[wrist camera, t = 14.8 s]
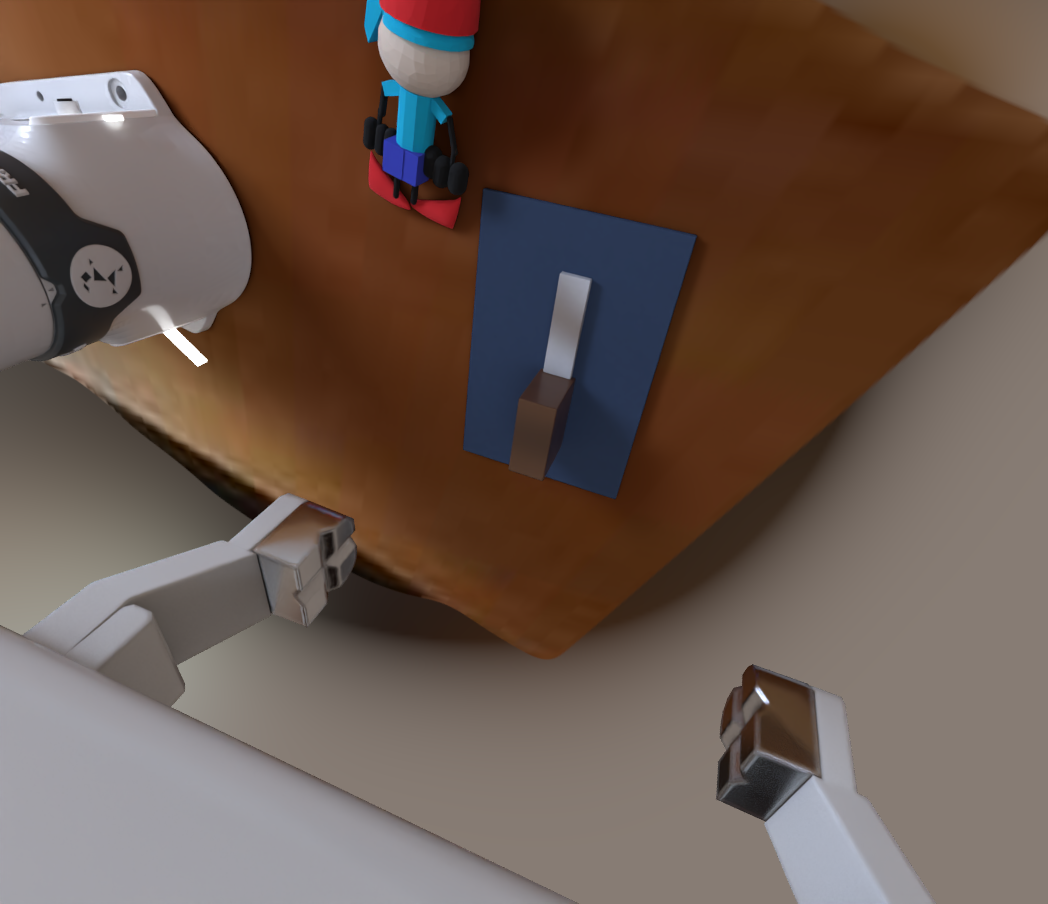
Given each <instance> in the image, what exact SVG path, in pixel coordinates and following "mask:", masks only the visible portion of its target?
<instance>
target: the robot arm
mask: <svg viewBox="0 0 1048 904" xmlns="http://www.w3.org/2000/svg"><path fill="white" fill-rule="evenodd" d="M250 271H251V244H250V237H249V232H248V228H247V224H246V221H245V217H244V214H243V211H242V209H241V206H240V204H239V201H238V199H237V197H236V195H235V193H234V191H233V189H232V187H231V185H230V183H229V181H228V180H227V178H226V176H225V175H224V173H223V172H222V170H221V169H220V167H219V166H218V164H217V163H216V161H215V160H214V159H213V158H212V156H211V155H210V154H209V153H208V151H207V150H206V149H205V148H204V147H203V146H202V145H201V144H200V143H199V141H198V140H197V139H195V138H194V137H193V136H192V135H191V134H190V133H189V132H188V131H187V130H186V129H185V128H184V127H183V126H182V125H181V124H180V123H179V121H178V120H177V119H176V118H175V117H174V115H173V114H172V112H171V110H170V109H169V107H168V105H167V104H166V102H165V100H164V99H163V97H162V96H161V94H160V92H159V91H158V89H157V88H156V86H155V85H154V84H153V82H152V81H151V80H150V79H149V78H148V77H147V76H146V75H145V74H144V73H143V72H141V71H138V70H128V71H118V72H107V73H97V74H87V75H76V76H66V77H56V78H45V79H35V80H25V81H15V82H7V83H1V84H0V371H3V370H5V369H8V368H10V367H13V366H15V365H17V364H20V363H22V362H25V361H27V360H31V361H46V360H49V359H52V358H55V357H57V356H65V355H68V354H71V353H74V352H76V351H79V350H81V349H82V348H83V347H85V346H87V345H89V344H92V343H94V342H97V341H101V342H104V343H108V344H110V345H111V346H124V345H127V344H130V343H133V342H136V341H139V340H142V339H145V338H148V337H151V336H154V335H157V334H160V333H164V334H165V335H166V336H167V337H168V338H169V339H170V340H171V341H172V342H173V343H174V344H175V345H176V346H177V347H178V348H179V349H180V350H181V351H182V352H183V353H184V354H185V355H186V356H187V357H188V358H189V359H190V360H191V361H192V362H194V363H195V364H196V365H197V366H200V365H202V364H204V363H206V362H207V359H206V358H205V357H204V356H203V355H202V354H201V353H200V352H199V351H198V350H197V349H196V348H195V347H194V346H193V345H192V344H191V343H190V342H189V341H188V340H187V339H186V338H184V337H183V336H182V335H181V334H180V333H179V332H178V331H177V330H176V329H175V328H178V327H182V328H184V329H186V330H188V331H190V332H192V333H199V332H203V331H206V330H208V329H209V328H210V327H211V325H212V323H213V321H214V319H215V317H216V314H217V312H218V311H219V310H220V309H222V308H224V307H225V306H227V305H229V304H231V303H233V302H234V301H235V300H236V299H237V298H238V297H239V296H240V295H241V294H242V292H243V291H244V289H245V287H246V285H247V282H248V279H249V276H250ZM354 531H355V525H354V519H353V518H351V517H348V516H346V515H343V514H341V513H338V512H336V511H333V510H331V509H328V508H326V507H323V506H321V505H318V504H316V503H314V502H311V501H308V500H306V499H303V498H301V497H298V496H295V495H293V494H290V493H288V494H285V495H282V496H280V497H279V498H278V499H277V500H276V501H274V502H273V503H272V504H271V505H270V506H269V507H268V508H266V509H265V510H264V511H263V512H262V513H261V514H260V515H259V516H257V517H256V518H255V519H254V520H253V521H252V522H251V523H249V524H248V525H247V526H246V527H245V528H244V529H243V530H242V531H240V532H239V533H238V534H237V535H236V536H235V537H233V538H232V539H231V540H230V541H229V542H226V541H223V540H221V541H218V542H215V543H211V544H209V545H205V546H202V547H199V548H196V549H193V550H190V551H187V552H184V553H181V554H178V555H175V556H171V557H168V558H165V559H162V560H159V561H156V562H153V563H150V564H147V565H144V566H141V567H138V568H135V569H131V570H128V571H126V572H122V573H119V574H116V575H113V576H110V577H107V578H104V579H101V580H98V581H95V582H92V583H90V584H89V585H88V586H86V587H85V588H84V589H82V590H81V591H80V592H78V593H77V594H76V595H74V596H73V597H72V598H70V599H69V600H68V601H67V602H65V603H64V604H63V605H61V606H60V607H59V608H57V609H56V610H55V611H53V612H52V613H51V614H50V615H48V616H47V617H46V618H44V619H43V620H42V621H40V622H39V623H38V624H37V625H35V626H34V627H32V628H31V629H30V630H28V631H27V632H26V633H24V635H20V634H18V633H16V632H13V631H12V630H9V629H7V628H5V627H3V626H1V625H0V904H579V903H577V902H575V901H573V900H570V899H568V898H566V897H564V896H562V895H560V894H558V893H556V892H554V891H551V890H550V889H548V888H546V887H543V886H541V885H539V884H537V883H535V882H533V881H531V880H529V879H527V878H525V877H523V876H521V875H519V874H516V873H514V872H512V871H510V870H508V869H506V868H504V867H502V866H500V865H498V864H495V863H494V862H492V861H489V860H487V859H485V858H483V857H481V856H479V855H477V854H475V853H472V852H471V851H469V850H466V849H464V848H462V847H460V846H458V845H456V844H454V843H452V842H450V841H448V840H446V839H444V838H442V837H440V836H438V835H435V834H433V833H431V832H429V831H427V830H425V829H423V828H421V827H419V826H417V825H415V824H413V823H411V822H408V821H406V820H404V819H402V818H400V817H398V816H396V815H394V814H392V813H390V812H388V811H386V810H383V809H381V808H379V807H377V806H375V805H373V804H371V803H369V802H367V801H365V800H363V799H361V798H359V797H356V796H354V795H352V794H350V793H348V792H346V791H344V790H342V789H340V788H338V787H336V786H334V785H331V784H330V783H327V782H325V781H323V780H321V779H319V778H317V777H315V776H313V775H311V774H308V773H307V772H305V771H303V770H300V769H298V768H296V767H294V766H292V765H290V764H288V763H286V762H284V761H282V760H280V759H278V758H275V757H273V756H271V755H269V754H267V753H265V752H263V751H261V750H259V749H257V748H255V747H253V746H251V745H248V744H246V743H244V742H242V741H240V740H238V739H236V738H234V737H232V736H230V735H228V734H226V733H224V732H221V731H219V730H217V729H215V728H213V727H211V726H209V725H207V724H205V723H203V722H201V721H199V720H196V719H194V718H192V717H190V716H188V715H186V714H184V713H182V712H180V711H178V710H176V709H174V708H171V706H172V705H173V704H174V703H175V702H176V701H177V699H178V698H179V697H180V696H181V695H182V694H183V693H184V692H185V683H184V680H183V678H182V676H181V674H180V672H179V670H178V667H177V665H178V664H180V663H182V662H184V661H186V660H187V659H189V658H191V657H193V656H195V655H197V654H199V653H201V652H203V651H205V650H207V649H208V648H210V647H212V646H214V645H216V644H218V643H220V642H222V641H223V640H226V639H227V638H230V637H231V636H233V635H235V634H237V633H239V632H241V631H243V630H245V629H247V628H249V627H251V626H252V625H254V624H256V623H258V622H260V621H262V620H264V619H266V618H268V617H270V616H271V613H272V614H275V615H277V616H280V617H282V618H285V619H288V620H290V621H293V622H295V623H298V624H301V625H303V626H306V627H308V626H309V625H310V623H311V622H312V621H313V620H314V619H315V617H316V616H317V615H318V614H319V612H320V611H321V610H322V609H323V608H324V606H325V605H326V604H327V603H328V591H331V590H334V589H336V588H338V587H341V586H342V584H343V583H344V582H345V580H346V579H347V578H348V577H349V575H350V573H351V571H352V569H353V567H354V565H355V561H356V556H357V545H356V544H355V542H354V541H353V539H352V538H351V537H350V536H351V534H352V533H353V532H354ZM720 739H721V741H722V743H723V745H724V747H725V749H726V752H725V753H724V754H723V756H722V757H721V759H720V760H719V761H718V774H717V794H716V799H717V800H719V801H721V802H723V803H726V804H728V805H730V806H732V807H734V808H737V809H739V810H741V811H743V812H746V813H748V814H750V815H752V816H754V817H757V818H759V819H761V820H764V821H766V823H765V827H766V829H767V831H768V834H769V836H770V838H771V841H772V843H773V846H774V848H775V851H776V853H777V855H778V857H779V860H780V863H781V865H782V867H783V870H784V872H785V875H786V877H787V879H788V882H789V884H790V886H791V889H792V891H793V894H794V896H795V899H796V901H797V903H798V904H936V902H935V901H934V899H933V898H932V897H931V895H930V893H929V892H928V890H927V889H926V887H925V885H924V884H923V883H922V881H921V879H920V878H919V876H918V875H917V873H916V872H915V870H914V869H913V867H912V865H911V864H910V862H909V861H908V859H907V858H906V857H905V855H904V853H903V852H902V850H901V849H900V847H899V846H898V844H897V842H896V841H895V839H894V838H893V836H892V835H891V833H890V832H889V830H888V829H887V827H886V826H885V824H884V823H883V821H882V819H881V818H880V816H879V815H878V813H877V812H876V810H875V809H874V807H873V806H872V804H871V802H870V801H869V799H868V798H867V797H865V796H863V795H860V794H858V792H857V785H856V778H855V770H854V763H853V756H852V749H851V742H850V735H849V728H848V721H847V714H846V706H845V703H844V701H843V699H842V697H840V696H837V695H835V694H832V693H829V692H826V691H823V690H821V689H818V688H815V687H813V686H809V685H808V684H807V683H804V682H801V681H798V680H795V679H792V678H789V677H787V676H784V675H781V674H778V673H775V672H773V671H770V670H767V669H764V668H761V667H759V666H756V665H753V664H752V665H751V666H749V667H748V668H747V669H746V670H745V672H744V674H743V677H742V686H740V687H736V688H733V690H732V692H731V693H730V695H729V697H728V698H727V702H726V704H725V707H724V711H723V714H722V720H721V727H720Z"/></svg>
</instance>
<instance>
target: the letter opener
mask: <svg viewBox="0 0 1048 904" xmlns="http://www.w3.org/2000/svg"><path fill="white" fill-rule="evenodd" d="M591 283H592V279H591V278H587V277H583V276H579V275H575V274H571V273H568V272H564V271H562V272H561V273H560V276H559V282H558V287H557V293H556V299H555V305H554V311H553V316H552V322H551V328H550V334H549V340H548V346H547V351H546V357H545V363H544V369H540V371H539V372H538V373H537V375H536V376H535V377H534V379H533V380H532V381H531V383H530V384H529V386H528V387H527V388H526V390H525V391H524V392H523V394H522V395H521V396H520V398H519V402H518V408H517V415H516V422H515V429H514V436H513V442H512V449H511V456H510V463H509V470H510V471H513V472H516V473H519V474H522V475H526V476H529V477H532V478H535V479H538V480H541V481H543V480H544V478H545V476H546V474H547V472H548V470H549V469H550V467H551V465H552V463H553V461H554V459H555V457H556V455H557V453H558V452H559V450H560V448H561V445H562V441H563V436H564V431H565V427H566V422H567V417H568V413H569V408H570V403H571V399H572V394H573V389H574V385H575V380H576V379H575V378H572V374H573V369H574V364H575V359H576V355H577V350H578V345H579V340H580V336H581V331H582V326H583V321H584V316H585V312H586V307H587V302H588V297H589V293H590V288H591Z"/></svg>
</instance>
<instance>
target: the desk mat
mask: <svg viewBox="0 0 1048 904" xmlns="http://www.w3.org/2000/svg"><path fill="white" fill-rule="evenodd" d="M696 237H697V235H694V234H690V233H685V232H681V231H676V230H672V229H667V228H663V227H658V226H654V225H649V224H645V223H641V222H636V221H632V220H627V219H623V218H618V217H614V216H609V215H605V214H600V213H596V212H591V211H587V210H582V209H578V208H574V207H569V206H565V205H560V204H556V203H551V202H547V201H542V200H538V199H533V198H529V197H524V196H520V195H516V194H511V193H507V192H502V191H498V190H493V189H489V188H484V189H483V198H482V211H481V224H480V237H479V250H478V263H477V276H476V289H475V302H474V315H473V328H472V341H471V354H470V367H469V380H468V393H467V406H466V419H465V432H464V445H463V450H466V451H469V452H472V453H475V454H478V455H481V456H484V457H487V458H490V459H493V460H496V461H499V462H502V463H506V464H509V463H510V456H511V449H512V442H513V436H514V429H515V422H516V415H517V408H518V402H519V398H520V396H521V395H522V394H523V392H524V391H525V390H526V388H527V387H528V386H529V384H530V383H531V381H532V380H533V379H534V377H535V376H536V375H537V373H538V372H539V371H540V369H544V363H545V357H546V351H547V346H548V340H549V334H550V328H551V322H552V316H553V311H554V305H555V299H556V293H557V287H558V282H559V276H560V273H561V272H562V271H564V272H568V273H571V274H575V275H579V276H583V277H587V278H591V279H592V283H591V288H590V293H589V297H588V302H587V307H586V312H585V316H584V321H583V326H582V331H581V336H580V340H579V345H578V350H577V355H576V359H575V364H574V369H573V374H572V378H575V379H576V380H575V385H574V389H573V394H572V399H571V403H570V408H569V413H568V417H567V422H566V427H565V431H564V436H563V441H562V445H561V448H560V450H559V452H558V453H557V455H556V457H555V459H554V461H553V463H552V465H551V467H550V469H549V470H548V472H547V474H546V476H545V477H548V478H551V479H554V480H558V481H561V482H564V483H567V484H570V485H573V486H576V487H579V488H582V489H585V490H588V491H591V492H594V493H597V494H600V495H603V496H607V497H610V498H613V499H616V496H617V493H618V490H619V487H620V483H621V480H622V477H623V474H624V471H625V467H626V464H627V461H628V458H629V454H630V451H631V448H632V445H633V441H634V438H635V435H636V432H637V428H638V425H639V422H640V419H641V415H642V412H643V409H644V406H645V403H646V399H647V396H648V393H649V390H650V386H651V383H652V380H653V377H654V373H655V370H656V367H657V364H658V360H659V357H660V354H661V351H662V348H663V344H664V341H665V338H666V335H667V331H668V328H669V325H670V322H671V318H672V315H673V312H674V309H675V305H676V302H677V299H678V296H679V292H680V289H681V286H682V283H683V280H684V276H685V273H686V270H687V267H688V263H689V260H690V257H691V254H692V250H693V247H694V244H695V241H696Z"/></svg>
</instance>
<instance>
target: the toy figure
mask: <svg viewBox="0 0 1048 904" xmlns="http://www.w3.org/2000/svg"><path fill="white" fill-rule="evenodd" d="M480 4H481V0H367V6H366V15H365V23H364V26H365V31H366V35H367V39H368V43H370V42H375V41H378V47H379V53H380V56H381V58H382V61H383V63H384V65H385V67H386V69H387V71H388V72H389V73H390V75H391V76H392V78H393V79H394V80H387V81H384V82H382V88H381V96H380V105H379V108H378V118H377V120H376V119H375V118H373V117H368V118H367V119H366V120H365V123H364V137H363V143H364V145H365V147H366V148H368V149H371V150H372V149H375V151H376V153H377V154H379V155H381V156H383V167H382V166H381V165H380V164H379V162H378V161H377V160H376V158H375V156H374V154H373V152H372V151H371V153H370V162H369V187H370V188H371V189H372V190H373V191H374V192H375V193H377V194H378V195H380V196H381V197H383V198H384V199H386V200H387V201H389V202H390V203H392V204H394V205H396V206H398V207H401V208H403V209H407V210H410V209H411V208H410V205H411V206H412V207H413V208H414V209H415V210H417V211H418V212H419V213H421V214H422V215H424V216H425V217H427V218H429V219H431V220H433V221H435V222H437V223H439V224H441V225H443V226H446V227H448V228H451V229H452V228H453V227H454V224H455V222H456V219H457V215H458V211H459V207H460V202H461V197H460V198H458V199H455V200H417V196H418V186H419V185H420V184H422V183H424V182H426V181H428V179H429V178H431V179H432V180H433V182H434V184H435V185H436V186H437V187H439V188H445V187H447V186H448V189H449V191H450V192H451V193H452V194H454V195H461V194H463V193H464V192H465V191H466V188H467V182H468V176H469V171H468V168H467V167H466V165H465V164H463V163H460V162H456V163H455V156H457V154H458V151H457V145H456V138H455V131H454V125H453V118H452V117H451V115H452V114H453V113H452V112H451V111H450V110H449V108H448V107H447V106H446V104H445V103H444V102H443V100H442V99H441V98H440V96H444V95H447V94H450V93H451V92H453V91H454V90H455V89H456V88H458V87H459V86H460V85H461V83H462V82H463V80H464V78H465V76H466V74H467V71H468V68H469V58H470V49H472V48H473V46H474V34H475V33H476V32H477V31H478V26H479V16H480ZM388 96H399V106H398V120H397V131H396V130H395V129H394V128H389V127H388V126H387V125H385V124H382V117H384V116H385V115H386V107H387V99H388ZM436 119H437V120H438V121H439V122H440V124H443V123H445V122H447V125H448V131H449V137H450V144H451V150H452V152H451V158H449V157H447V156H445V155H443V154H442V152H441V150H440V149H439V148H438V147H437V146H435V145H433V142H434V134H435V126H436ZM386 172H387V173H389V174H390V175H392V176H394V182H393V181H392V180H391V178H390V177H389V176H388V174H387V173H386ZM400 180H403V181H405V182H407V183H408V184H410V185H412V190H411V200H410V201H411V202H410V205H409V203H408V201H407V199H406V198H405V196H404V195H403V194H402V192H401V191H400Z"/></svg>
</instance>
